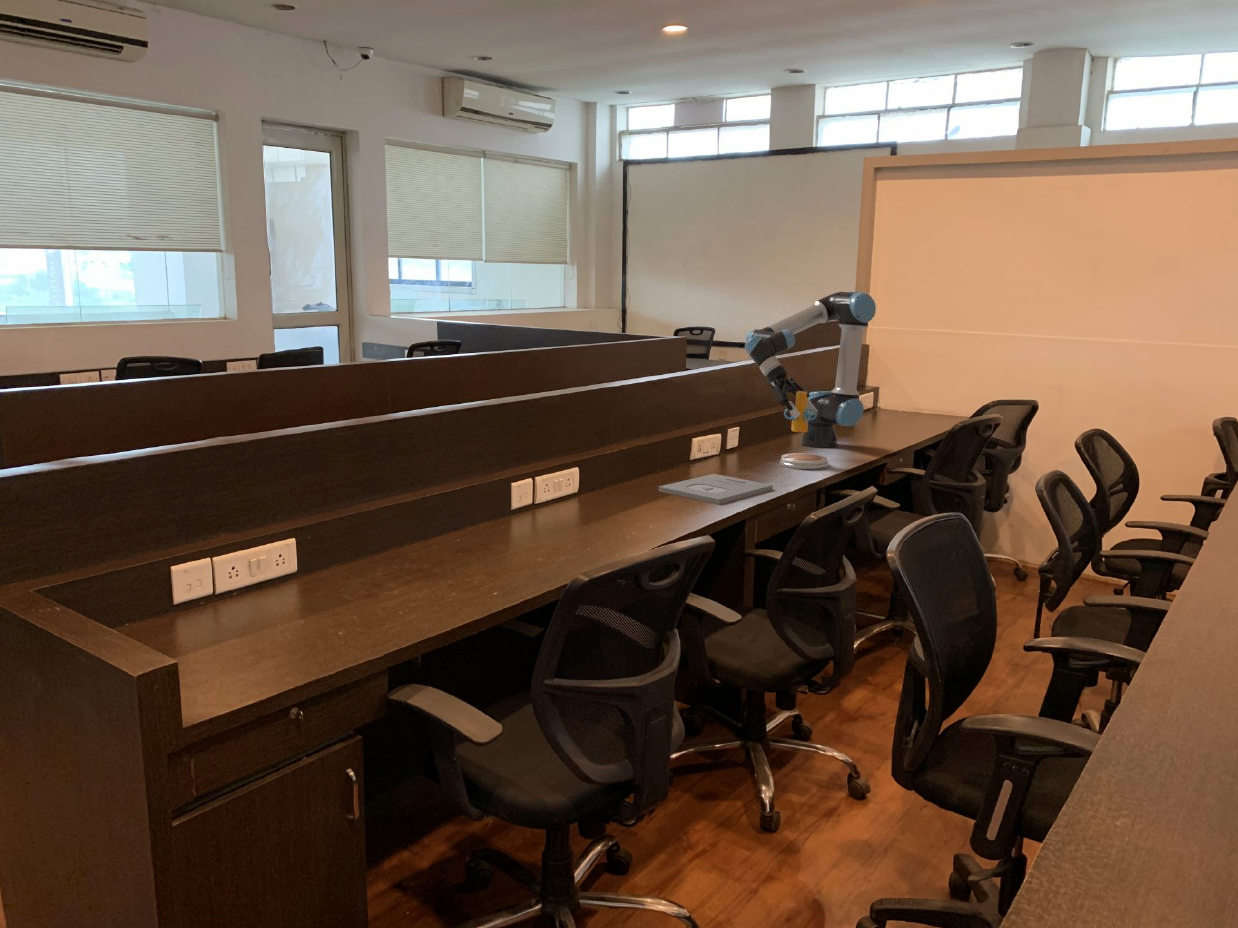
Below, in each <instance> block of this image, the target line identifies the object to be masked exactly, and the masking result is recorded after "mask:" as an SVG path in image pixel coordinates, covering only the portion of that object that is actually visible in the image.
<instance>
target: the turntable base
mask: <svg viewBox="0 0 1238 928" xmlns="http://www.w3.org/2000/svg"><path fill="white" fill-rule="evenodd" d="M779 465H780V466H781V467H783V468H787V469H792V470H798V471H799V470H800V471H819V470H820V471H821V470H826V469H828V468H829V462H828V461H827V464H824V465H818V466H802V465H793V464H788V463H785V462H782V458H780V460H779Z"/></svg>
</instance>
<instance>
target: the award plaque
mask: <svg viewBox="0 0 1238 928" xmlns="http://www.w3.org/2000/svg"><path fill="white" fill-rule="evenodd" d="M773 486H774V485H773V484H770V483H763V482H760V481H758V482H757V481H754V480H748V479H745V478H739V477H732V476H727V475H722V474H717V473H710V474H707V475H703V476H698V477H694V478H690V479H687V480H681V481H677V482H673V483H668V484H664V485H660V486H658V492H660V493H664V494H669V495H674V496H677V497H683V498H687V499H691V500H696V501H701V502H705V503H710V504H714V505H722V504H726V503H729V502H733V501H736V500H741V499H745V498H749V497H751V496H755V495H758V494H762V493H767V492H769V491H772V490H773Z"/></svg>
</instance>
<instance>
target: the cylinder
mask: <svg viewBox="0 0 1238 928" xmlns="http://www.w3.org/2000/svg"><path fill="white" fill-rule="evenodd" d="M807 393H808V391H806V392H804V391H797V392H796V396H795V407H796V409H797V410H798V411H799V413H800V415H799V416H798V417H797V418H796V419H794V417H793V416H792V415H791V414H790V417H789V416H788V415H787V412H789V411H788V409H787V408H786V409H784V412H783V415H784V418H785V419H787V420H791V432H794V433H804V432H807V430H808V421H809V420H814V419H815V418H816V417H817V412H816V411H815V410H814V409H809V410H808V408H806V404H807ZM810 411H813V412H814V413H815V416H814V417H813V418H811V413H810ZM808 415H809V417H808Z"/></svg>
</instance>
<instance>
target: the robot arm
mask: <svg viewBox="0 0 1238 928" xmlns="http://www.w3.org/2000/svg"><path fill="white" fill-rule="evenodd" d="M876 306H877V305H876V303H875V300H874V298H873V297H872V296H871V295H870V294H868V293H866V292H860V291H839V292H834V293H831V294H829V295H827V296H824V297H823V298H820V299H818V300H816V301H814V302H812V304H811V306H809V307H807V308H804V309H803V310H800V311H798V312H796V313H794V314H792V315H790V316H787V317H786V318H784V319H781V320H779V321H778V322H775V323H773V324H770V325H768V326H766V327H764V328H761V329H759V330H758V329H755V330H750V331H749V332H748V333H747V335H746V338H745V339H746V340H745V341H746V343H745V344H744V349H745V350H746V353H747V354H748V356H749V357H750V358H751V359H752V360H753V362H754V363H755V365H756V366H757V367H758V369H759V370H760V371H761V373H762V374H763V375H764V377H766V379H767V381H768V382H769V384H770V385H769V386H770V387H771V389H772V390H773V393H774V395H775V397H776V400H777V402H778V404H779V405H780V406H781V407H785V408H786V409H788V411H787V412H789V414H790V416H791V415H792V416H793V417H794V419H796V418H797V417H798V416H799V415H800V413H799V411H798V410H797V409H796V405H794V404H793V402H792V401H791V400H789V397H788V393H791V394H792V395H793V396H795V397H796V392H797V391H804V392H807V391H806V389H804V388H803V387H802V386H801V385H800V384H798V383H797V382H796V381H795V379H794V378H792V377H791V378H790V379H789V378H788V377H787V375H788V371H787V370H786V369H785V368H784V367H783V365H782V364H781V362H780V361H779V360H778V358H777V357H776V355H779V354H781V353H782V352H783V353H784V352H785V351H788V350H789V349H791V348H793V347H794V346H795V344H796V338H795V335H797V334H798V333H801V332H802V331H805V330H807V329H809V328H811V327H813V326H815V325H818V324H825V323H828V322H831V321H838V326H839V328H840V329H841V333H840V342H839V352H838V358H837V359H838V361H837V367H836V375H835V376H836V377H835V384H834V385H835V386H834V388H833V389H832V390H827V391H826V390H825V391H824V390H823V391H811V392H809V393H808V392H807V404H806V408H808V410H809V409H814V410H815V411H816V412H817V417H816V418H815V419H814V420H809V421H808V430H807V432H802V433H803V434H802V436H801V442H800V445H803V446H804V447H805V446H806V447H811V448H812V447H813V448H834V447H838V438H837V434H836V430H835V425H839V426H841V427H853V426H855V425H856V424H858V422H860V421H861V419H862V417H863V415H864V411H865V410H864V404H863V402H862V401H861V400H860V393H859V391H858V390H857V386H858V381H859V380H858V379H859V371H860V370H859V368H860V361H861V354H862V345H863V338H864V337H863V336H864V331H865V330H866V329H867V328H868V326H869V322H871V321H872V320H873V318H874V317H875V315H876V313H877V312H876V311H877V307H876ZM810 413H811V418H813V417H814V416H815V413H814V412H813V411H810ZM808 417H809V415H808Z"/></svg>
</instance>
